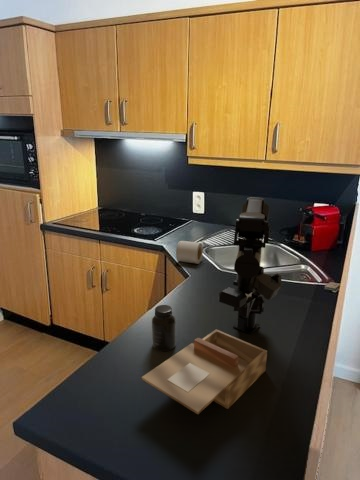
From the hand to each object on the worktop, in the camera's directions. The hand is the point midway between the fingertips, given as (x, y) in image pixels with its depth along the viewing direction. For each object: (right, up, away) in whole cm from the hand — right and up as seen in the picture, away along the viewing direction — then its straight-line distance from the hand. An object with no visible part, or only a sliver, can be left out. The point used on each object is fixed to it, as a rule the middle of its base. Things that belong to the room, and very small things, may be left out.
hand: (245, 317), depth 96 cm
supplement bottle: (-22, -10, +8) cm, 26 cm away
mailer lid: (-14, -10, -15) cm, 23 cm away
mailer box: (-7, -14, -5) cm, 16 cm away
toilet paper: (-13, +10, +76) cm, 78 cm away
